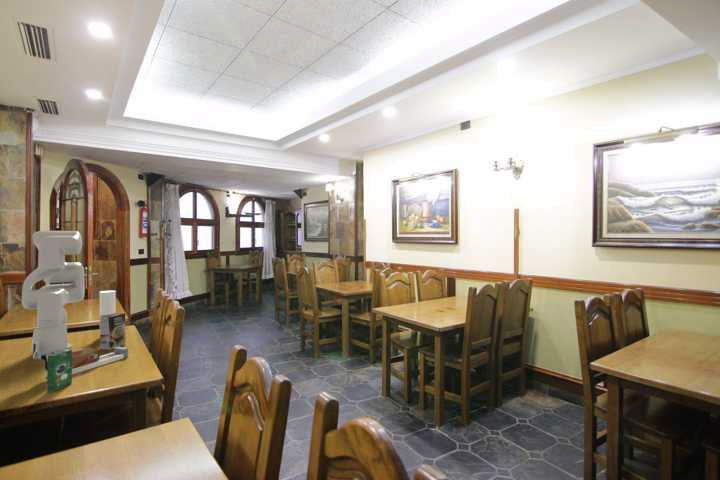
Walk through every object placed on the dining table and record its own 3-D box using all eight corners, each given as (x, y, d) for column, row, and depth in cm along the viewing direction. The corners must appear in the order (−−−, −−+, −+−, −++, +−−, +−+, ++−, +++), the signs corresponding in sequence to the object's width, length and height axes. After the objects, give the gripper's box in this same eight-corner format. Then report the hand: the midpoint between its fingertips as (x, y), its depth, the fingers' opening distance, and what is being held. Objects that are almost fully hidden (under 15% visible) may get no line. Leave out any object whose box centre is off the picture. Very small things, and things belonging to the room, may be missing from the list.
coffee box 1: (65, 383, 138) (65, 348, 137) (73, 383, 137) (72, 348, 137) (46, 392, 129) (46, 355, 129) (54, 392, 129) (54, 355, 129)
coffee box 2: (110, 350, 176) (110, 317, 176) (99, 349, 178) (99, 316, 177) (126, 344, 185) (126, 313, 185) (115, 343, 187) (115, 312, 186)
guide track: (47, 376, 144) (47, 366, 143) (118, 355, 169) (118, 346, 169) (57, 379, 141) (57, 369, 141) (127, 357, 167) (127, 348, 167)
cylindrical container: (109, 339, 195) (109, 292, 195) (96, 339, 195) (96, 292, 195) (118, 335, 202) (118, 290, 202) (106, 335, 202) (105, 290, 202)
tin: (57, 376, 143) (56, 355, 143) (53, 375, 145) (53, 354, 145) (100, 365, 156) (99, 345, 156) (96, 363, 158) (96, 344, 158)
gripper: (66, 318, 150) (66, 362, 150) (20, 326, 136) (21, 375, 136) (77, 320, 147) (77, 365, 147) (31, 328, 133) (32, 378, 133)
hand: (50, 370), depth 142 cm, fingers closed
